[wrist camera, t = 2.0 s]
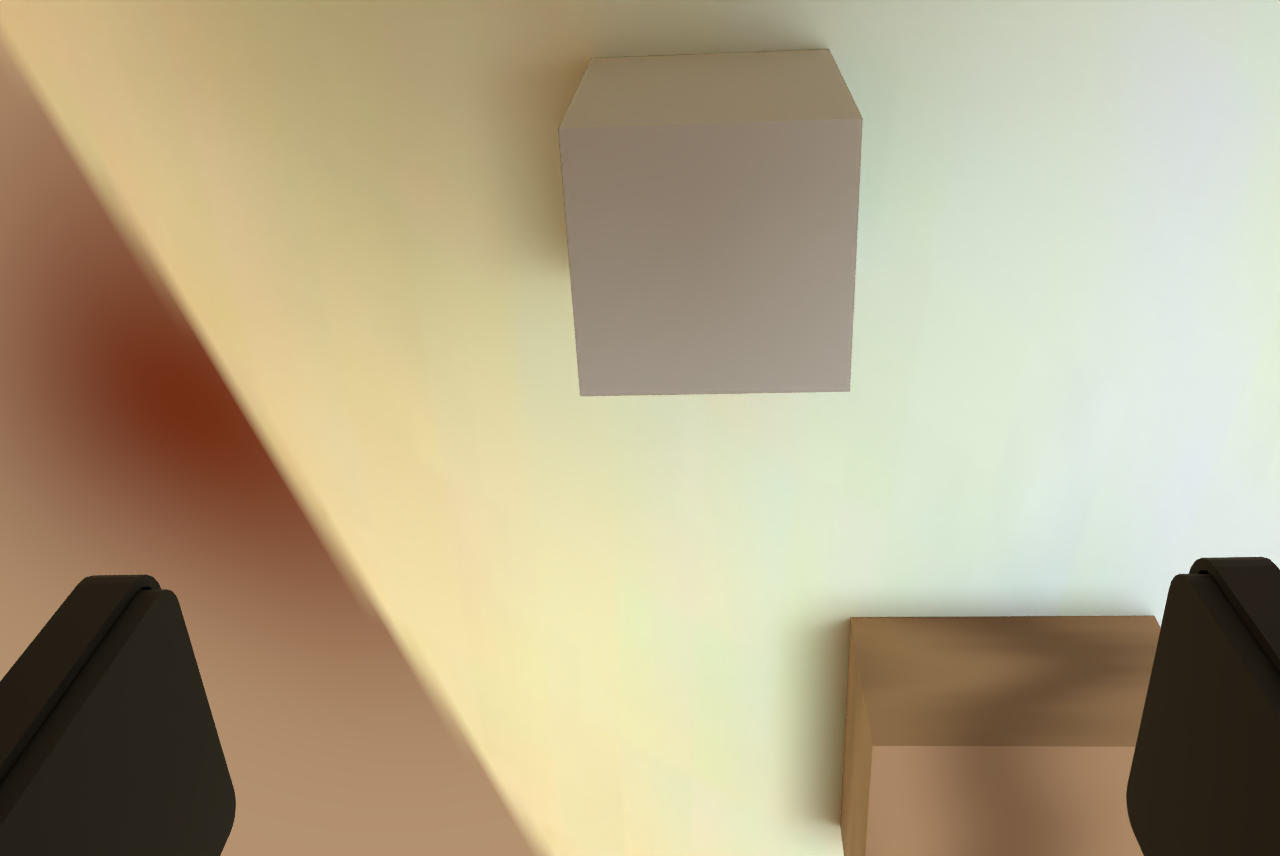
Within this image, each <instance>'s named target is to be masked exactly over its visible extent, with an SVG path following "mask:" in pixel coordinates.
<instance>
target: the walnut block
mask: <svg viewBox="0 0 1280 856" xmlns="http://www.w3.org/2000/svg"><path fill="white" fill-rule="evenodd" d="M1160 629H1161V628H1160V626H1159V624H1158V622H1157V620H1156V618H1155V617H1154V616H1011V617H851V622H850V642H849V662H848V683H847V703H846V723H845V743H844V764H843V784H842V804H841V825H840V826H841V834H842V842H843V850H844V856H1144V855H1143V853H1142V851H1141V848H1140V846H1139V844H1138V842H1137V839H1136V837H1135V835H1134V832H1133V830H1132V827H1131V824H1130V821H1129V816H1128V811H1127V803H1126V791H1127V784H1128V779H1129V775H1130V770H1131V765H1132V761H1133V756H1134V751H1135V747H1136V742H1137V737H1138V732H1139V728H1140V723H1141V718H1142V714H1143V709H1144V704H1145V700H1146V695H1147V690H1148V686H1149V681H1150V676H1151V671H1152V667H1153V662H1154V657H1155V653H1156V648H1157V643H1158V639H1159V634H1160Z"/></svg>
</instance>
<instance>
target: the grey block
mask: <svg viewBox="0 0 1280 856" xmlns="http://www.w3.org/2000/svg"><path fill="white" fill-rule="evenodd" d="M558 130H559V143H560V155H561V167H562V179H563V192H564V204H565V216H566V228H567V241H568V253H569V265H570V277H571V290H572V302H573V314H574V326H575V339H576V351H577V363H578V375H579V388H580V396H620V395H677V394H735V393H792V392H849V391H850V376H851V354H852V333H853V312H854V290H855V269H856V247H857V226H858V204H859V183H860V161H861V140H862V116H861V114H860V112H859V110H858V108H857V106H856V104H855V102H854V100H853V98H852V96H851V93H850V91H849V89H848V87H847V85H846V83H845V81H844V79H843V77H842V75H841V73H840V71H839V69H838V67H837V64H836V62H835V60H834V58H833V56H832V54H831V52H830V50H829V49H816V50H790V51H764V52H738V53H712V54H686V55H659V56H633V57H607V58H591V60H590V62H589V64H588V66H587V68H586V70H585V73H584V75H583V77H582V79H581V81H580V83H579V85H578V88H577V90H576V92H575V94H574V96H573V98H572V100H571V103H570V105H569V107H568V109H567V111H566V113H565V115H564V118H563V120H562V122H561V124H560V126H559V128H558Z"/></svg>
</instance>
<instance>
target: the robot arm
mask: <svg viewBox="0 0 1280 856" xmlns="http://www.w3.org/2000/svg"><path fill="white" fill-rule="evenodd" d="M235 801H236V800H235V792H234V789H233V785H232V781H231V778H230V774H229V771H228V768H227V764H226V761H225V757H224V754H223V751H222V747H221V744H220V741H219V737H218V734H217V730H216V727H215V723H214V720H213V717H212V713H211V710H210V707H209V703H208V700H207V696H206V693H205V689H204V686H203V683H202V679H201V676H200V672H199V669H198V666H197V662H196V659H195V656H194V652H193V649H192V645H191V642H190V638H189V635H188V632H187V628H186V625H185V621H184V619H183V615H182V611H181V608H180V605H179V602H178V599H177V597H176V595H175V594H174V593H173V592H172V591H170V590H161V588H160V585H159V583H158V582H157V581H156V580H155V579H154V577H151V576H148V575H104V576H103V575H102V576H101V575H99V576H90V577H86V578H84V579H83V580H82V581H81V582H80V583H79V584H78V585H77V586H76V587H75V589H74V590H73V591H72V592H71V594H70V595H69V596H68V597H67V599H66V600H65V601H64V602H63V604H62V605H61V606H60V608H59V609H58V610H57V611H56V612H55V614H54V615H53V616H52V617H51V619H50V620H49V621H48V622H47V624H46V625H45V626H44V627H43V629H42V630H41V632H40V633H39V634H38V635H37V636H36V637H35V639H34V640H33V641H32V642H31V644H30V645H29V646H28V648H27V649H26V650H25V651H24V653H23V654H22V655H21V656H20V658H19V659H18V660H17V661H16V663H15V664H14V665H13V666H12V668H11V669H10V670H9V672H8V673H7V674H6V675H5V676H4V678H3V679H2V680H1V681H0V856H220V855H221V852H222V850H223V848H224V846H225V843H226V841H227V839H228V837H229V835H230V832H231V829H232V826H233V822H234V818H235V808H236V802H235ZM1126 803H1127V811H1128V816H1129V821H1130V824H1131V827H1132V830H1133V832H1134V835H1135V837H1136V839H1137V842H1138V844H1139V846H1140V848H1141V851H1142V853H1143V855H1144V856H1280V570H1279V568H1278V567H1277V566H1276V565H1275V564H1274V563H1273V562H1272V561H1271V560H1270V559H1267V558H1264V557H1231V558H1201V559H1198V560H1196V561H1195V562H1194V564H1193V565H1192V567H1191V569H1190V572H1189V574H1179V575H1176V576H1175V577H1174V578H1173V580H1172V581H1171V585H1170V588H1169V592H1168V597H1167V601H1166V606H1165V611H1164V615H1163V620H1162V625H1161V629H1160V634H1159V639H1158V643H1157V648H1156V653H1155V657H1154V662H1153V667H1152V671H1151V676H1150V681H1149V686H1148V690H1147V695H1146V700H1145V704H1144V709H1143V714H1142V718H1141V723H1140V728H1139V732H1138V737H1137V742H1136V747H1135V751H1134V756H1133V761H1132V765H1131V770H1130V775H1129V779H1128V784H1127V791H1126Z"/></svg>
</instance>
